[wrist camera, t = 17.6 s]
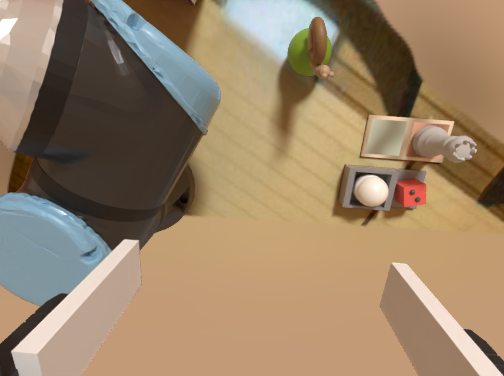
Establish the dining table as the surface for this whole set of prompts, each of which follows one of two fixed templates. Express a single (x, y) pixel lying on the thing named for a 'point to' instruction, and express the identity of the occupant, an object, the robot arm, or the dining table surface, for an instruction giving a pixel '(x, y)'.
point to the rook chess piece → (443, 144)
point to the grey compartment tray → (399, 185)
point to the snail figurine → (311, 51)
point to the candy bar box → (192, 2)
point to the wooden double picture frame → (397, 137)
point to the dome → (370, 189)
